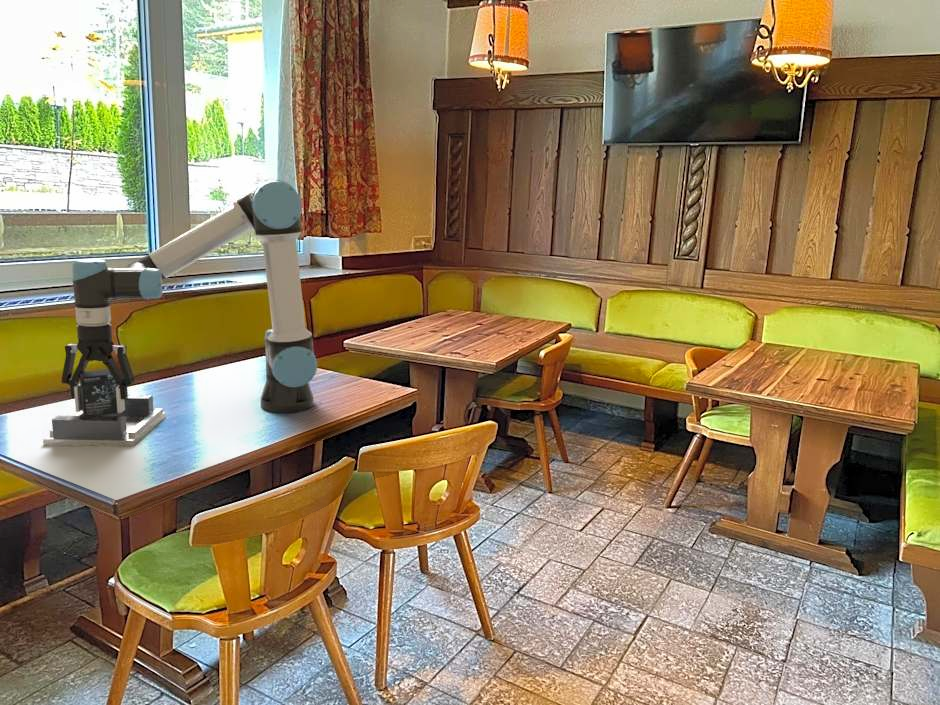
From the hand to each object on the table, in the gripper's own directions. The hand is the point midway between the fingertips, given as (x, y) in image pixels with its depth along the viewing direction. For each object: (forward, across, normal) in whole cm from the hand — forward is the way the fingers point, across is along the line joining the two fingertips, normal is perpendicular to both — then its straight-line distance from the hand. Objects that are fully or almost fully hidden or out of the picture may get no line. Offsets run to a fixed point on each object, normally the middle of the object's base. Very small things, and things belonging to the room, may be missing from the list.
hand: (100, 410), depth 176 cm
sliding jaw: (+5, 0, +11) cm, 12 cm away
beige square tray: (+6, 0, +3) cm, 7 cm away
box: (+1, 0, 0) cm, 1 cm away
